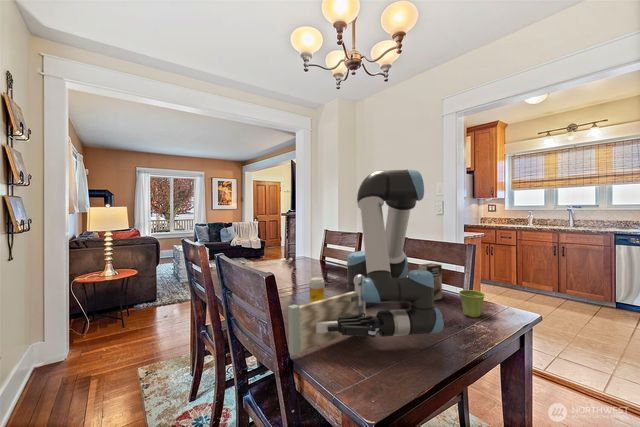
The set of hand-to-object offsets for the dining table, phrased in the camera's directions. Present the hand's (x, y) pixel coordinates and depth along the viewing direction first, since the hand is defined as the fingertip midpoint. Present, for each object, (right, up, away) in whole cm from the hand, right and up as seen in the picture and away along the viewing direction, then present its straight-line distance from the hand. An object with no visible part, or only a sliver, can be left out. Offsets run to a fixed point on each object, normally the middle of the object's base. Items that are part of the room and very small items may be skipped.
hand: (316, 327), depth 86 cm
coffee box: (+54, -6, +50) cm, 73 cm away
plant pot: (+62, -6, +29) cm, 69 cm away
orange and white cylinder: (0, -8, +31) cm, 32 cm away
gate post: (+15, -7, +14) cm, 22 cm away
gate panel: (+3, -6, +5) cm, 8 cm away
